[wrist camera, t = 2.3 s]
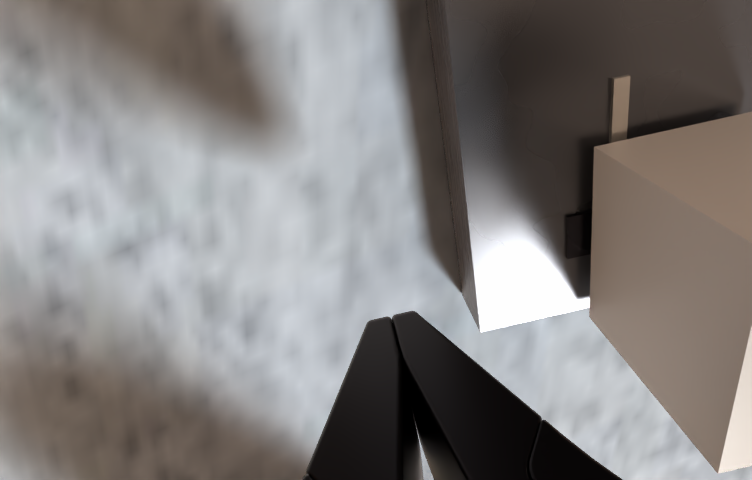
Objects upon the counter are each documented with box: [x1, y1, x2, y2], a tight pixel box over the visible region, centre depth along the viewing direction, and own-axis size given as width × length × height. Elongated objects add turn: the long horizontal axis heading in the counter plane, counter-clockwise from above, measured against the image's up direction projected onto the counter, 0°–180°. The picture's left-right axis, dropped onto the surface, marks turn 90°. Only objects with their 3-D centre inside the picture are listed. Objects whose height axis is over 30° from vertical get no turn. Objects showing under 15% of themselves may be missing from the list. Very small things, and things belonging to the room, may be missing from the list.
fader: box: [589, 112, 752, 474], centre depth 8 cm, size 3×4×4 cm
